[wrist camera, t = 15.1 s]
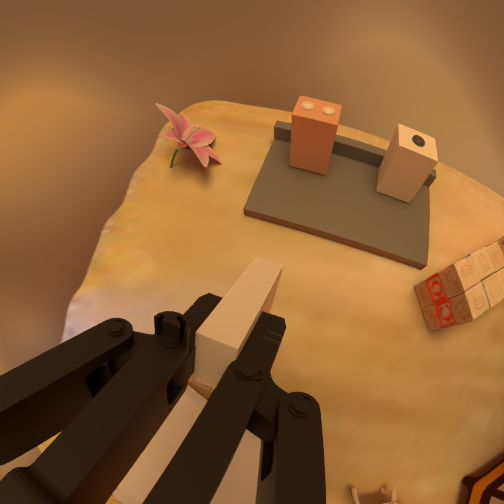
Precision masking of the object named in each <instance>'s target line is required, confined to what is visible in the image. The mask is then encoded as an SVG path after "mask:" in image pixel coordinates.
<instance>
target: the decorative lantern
mask: <svg viewBox="0 0 504 504" xmlns="http://www.w3.org/2000/svg"><path fill="white" fill-rule="evenodd" d="M462 482H463V484H464V485H465V486H466V487H467V488H468V490H469V493H468V498H467V502H466V504H504V460H502V461H501V462H500V463H498V464H497V465H496V466H494V467H493V468H492V469H490V470H489V471H488V472H486V473H485V474H483V475H482V476H480V477H469V476H468V477H465V478H464V479H463V481H462Z"/></svg>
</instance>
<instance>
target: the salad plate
mask: <svg viewBox="0 0 504 504" xmlns="http://www.w3.org/2000/svg"><path fill="white" fill-rule="evenodd" d="M207 401H208V400H207V399H206V398H204V397H203V396H202V395H200V394H199V393H198V392H197V391H195V390H194V389H193V388H192V387H191V386H189V385H188V386H187V389H186V391H185V392H184V394H183V395H182V397H181V398H180V400H179V401H178V402H177V404H176V405H175V407H174V408H173V410H172V411H171V413H170V414H169V415H168V417H167V418H166V420H165V421H164V423H163V424H162V426H161V427H160V428H159V430H158V431H157V433H156V434H155V436H154V437H153V438H152V440H151V441H150V443H149V444H148V445H147V447H146V448H145V450H144V451H143V452H142V454H141V455H140V457H139V458H138V459H137V461H136V462H135V464H134V465H133V466H132V468H131V469H130V471H129V472H128V473H127V475H126V476H125V477H124V479H123V480H122V482H121V483H120V484H119V486H118V487H117V488H116V490H115V491H114V492H113V494H112V496H113V497H114V498H116V499H117V500H118V501H119V502H120V503H122V504H142V503H143V501H144V500H145V498H146V497H147V496H148V494H149V493H150V491H151V490H152V488H153V487H154V485H155V484H156V482H157V481H158V479H159V478H160V476H161V475H162V473H163V471H164V470H165V468H166V467H167V465H168V464H169V462H170V461H171V459H172V458H173V456H174V454H175V453H176V451H177V450H178V448H179V447H180V445H181V443H182V442H183V440H184V439H185V437H186V435H187V434H188V432H189V431H190V429H191V427H192V426H193V424H194V422H195V421H196V419H197V417H198V416H199V414H200V413H201V411H202V409H203V408H204V406H205V404H206V403H207ZM260 447H261V439H259V438H258V437H257V436H255V435H254V434H252V433H251V432H250V431H248V430H247V429H246V431H245V433H244V435H243V437H242V439H241V442H240V444H239V446H238V448H237V450H236V452H235V455H234V457H233V459H232V461H231V463H230V465H229V467H228V469H227V471H226V473H225V475H224V477H223V479H222V481H221V483H220V485H219V487H218V489H217V491H216V493H215V495H214V497H213V499H212V501H211V503H210V504H255V502H256V491H257V481H258V470H259V458H260Z"/></svg>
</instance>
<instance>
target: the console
mask: <svg viewBox="0 0 504 504" xmlns="http://www.w3.org/2000/svg"><path fill="white" fill-rule="evenodd" d="M291 125H292V124H291V123H286V122H281V121H277V122H276V124H275V126H274V141H273V143H272V145H271V147H270V150H269V152H268V154H267V156H266V159H265V161H264V163H263V165H262V168H261V170H260V172H259V174H258V177H257V179H256V181H255V183H254V186H253V188H252V190H251V193H250V195H249V197H248V200H247V202H246V204H245V207H244V214H245V215H247V216H251V217H254V218H258V219H262V220H265V221H269V222H272V223H276V224H279V225H283V226H286V227H290V228H293V229H296V230H300V231H303V232H307V233H310V234H313V235H317V236H320V237H323V238H326V239H330V240H333V241H336V242H339V243H343V244H346V245H349V246H352V247H355V248H358V249H362V250H365V251H368V252H371V253H374V254H377V255H380V256H383V257H386V258H389V259H392V260H395V261H398V262H401V263H404V264H407V265H410V266H413V267H416V268H419V269H421V270H422V269H423V268H424V267H426V266H427V260H428V246H429V218H430V202H429V186H430V185H431V184H432V182H433V181H434V180H435V178H436V170H434V169H433V170H432V171H431V173H430V174H429V176H428V177H427V179H426V180H425V182H424V183H423V184H422V186H421V187H420V189H419V190H418V192H417V193H416V194H415V196H414V197H413V198H412V200H411V201H410V203H407V202H405V201H402V200H399V199H397V198H394V197H391V196H388V195H385V194H383V193H380V192H377V191H376V188H377V178H378V169H379V167H380V165H381V163H382V160H383V158H384V156H385V154H386V152H387V150H384V149H381V148H378V147H375V146H372V145H369V144H366V143H363V142H360V141H356V140H353V139H350V138H346V137H343V136H339V135H336V136H335V141H334V145H333V150H332V154H331V158H330V162H329V166H328V170H327V174H326V175H322V174H319V173H315V172H311V171H308V170H304V169H300V168H296V167H292V166H290V147H291Z"/></svg>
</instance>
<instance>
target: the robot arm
mask: <svg viewBox="0 0 504 504" xmlns="http://www.w3.org/2000/svg"><path fill="white" fill-rule="evenodd" d="M282 268H283V265H281V264H278V263H275V262H271V261H268V260H265V259H262V258H259V257H255V258H254V260H253V261H252V262H251V263H250V265H249V266H248V267H247V268H246V270H245V271H244V272H243V274H242V275H241V276H240V277H239V279H238V280H237V281H236V282H235V284H234V285H233V286H232V287H231V289H230V290H229V291H228V292H227V294H226V295H225V296H224V297H223V298H221V297H219V296H216V295H213V294H211V293H208V294H206V295H203V296H201V297H199V298H198V299H197V300H196V302H195V303H194V304H193V305H192V306H191V307H190V308H189V310H187V311H186V312H185V313H184V314H183V315H182V314H180V313H177V312H174V311H165V312H161V313H158V314H157V315H155V316H154V325H155V334H154V335H151V334H145V333H140V332H135V331H133V327H132V325H131V324H130V322H128V321H127V320H125V319H121V318H111V319H108V320H106V321H104V322H102V323H100V324H98V325H96V326H94V327H92V328H90V329H88V330H86V331H85V332H83V333H81V334H79V335H77V336H75V337H73V338H71V339H69V340H67V341H65V342H63V343H62V344H60V345H58V346H56V347H54V348H52V349H50V350H48V351H46V352H44V353H43V354H41V355H39V356H37V357H35V358H33V359H31V360H29V361H27V362H25V363H24V364H22V365H20V366H18V367H16V368H14V369H12V370H10V371H9V372H7V373H5V374H3V375H1V376H0V465H4V464H6V463H8V462H10V461H12V460H14V459H16V458H17V457H19V456H21V455H23V454H24V453H26V452H28V451H30V450H31V449H33V448H35V447H36V446H38V445H40V444H41V443H43V442H45V441H46V440H48V439H50V438H51V437H53V436H54V435H56V434H58V433H59V432H61V431H62V432H61V433H60V434H59V435H58V436H57V437H56V439H55V440H54V441H53V442H52V443H51V444H50V445H49V446H48V447H47V448H46V449H45V451H44V452H43V453H42V454H41V455H40V456H39V457H38V458H37V459H36V460H35V462H34V463H33V464H31V465H30V466H28V467H17V468H15V469H12V470H11V471H10V472H8V473H7V474H6V475H5V476H4V478H3V479H2V480H1V481H0V504H105V503H106V502H107V500H108V499H109V498H110V496H111V495H112V494H113V492H114V491H115V490H116V488H117V487H118V486H119V484H120V483H121V482H122V480H123V479H124V477H125V476H126V475H127V473H128V472H129V471H130V469H131V468H132V466H133V465H134V464H135V462H136V461H137V459H138V458H139V457H140V455H141V454H142V452H143V451H144V450H145V448H146V447H147V445H148V444H149V443H150V441H151V440H152V438H153V437H154V436H155V434H156V433H157V431H158V430H159V428H160V427H161V426H162V424H163V423H164V421H165V420H166V418H167V417H168V415H169V414H170V413H171V411H172V410H173V408H174V407H175V405H176V404H177V402H178V401H179V400H180V398H181V397H182V395H183V394H184V392H185V391H186V389H187V386H188V379H189V378H190V377H191V375H192V374H193V380H194V381H196V382H199V383H201V384H203V385H205V386H208V387H210V388H212V389H214V391H213V393H212V394H211V396H210V398H209V399H208V401H207V403H206V404H205V406H204V408H203V409H202V411H201V413H200V414H199V416H198V417H197V419H196V421H195V422H194V424H193V426H192V427H191V429H190V431H189V432H188V434H187V435H186V437H185V439H184V440H183V442H182V443H181V445H180V447H179V448H178V450H177V451H176V453H175V454H174V456H173V458H172V459H171V461H170V462H169V464H168V465H167V467H166V468H165V470H164V471H163V473H162V475H161V476H160V478H159V479H158V481H157V482H156V484H155V485H154V487H153V488H152V490H151V491H150V493H149V494H148V496H147V497H146V498H145V500H144V501H143V503H142V504H210V503H211V501H212V499H213V497H214V495H215V493H216V491H217V489H218V487H219V485H220V483H221V481H222V479H223V477H224V475H225V473H226V471H227V469H228V467H229V465H230V463H231V461H232V459H233V457H234V455H235V452H236V450H237V448H238V446H239V444H240V442H241V439H242V437H243V435H244V433H245V431H246V429H247V430H248V431H250V432H251V433H252V434H254V435H255V436H257V437H258V438H259V439H261V447H260V458H259V470H258V481H257V491H256V502H255V504H326V485H325V465H324V449H323V435H322V423H321V412H320V407H319V404H318V402H317V401H316V400H315V399H314V397H312V396H310V395H309V394H307V393H303V392H291V393H287V392H285V391H284V390H282V389H281V388H279V387H278V386H277V385H276V384H275V383H274V382H273V380H272V378H271V373H270V370H271V367H272V365H273V362H274V360H275V357H276V354H277V352H278V349H279V346H280V343H281V341H282V338H283V335H284V332H285V329H286V324H285V320H284V318H281V317H278V316H275V315H272V314H269V312H270V310H271V308H272V305H273V301H274V297H275V294H276V290H277V286H278V283H279V279H280V275H281V272H282Z"/></svg>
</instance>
